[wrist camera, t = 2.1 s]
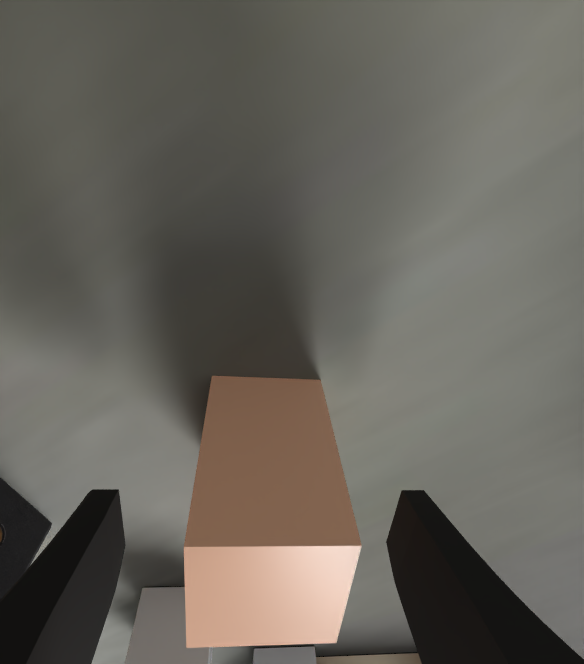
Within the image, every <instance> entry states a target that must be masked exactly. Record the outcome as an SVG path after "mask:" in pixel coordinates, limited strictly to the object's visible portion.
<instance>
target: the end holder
mask: <svg viewBox="0 0 584 664" xmlns="http://www.w3.org/2000/svg"><path fill="white" fill-rule="evenodd" d="M316 663H317V664H422V663H421V660H420V657H419V654H418V653H409V654H384V655H359V656H333V657H316Z"/></svg>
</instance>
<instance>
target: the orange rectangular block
mask: <svg viewBox="0 0 584 664" xmlns="http://www.w3.org/2000/svg"><path fill="white" fill-rule="evenodd" d="M361 546H362V545H361V541H360V537H359V533H358V529H357V525H356V521H355V517H354V513H353V509H352V505H351V501H350V497H349V493H348V489H347V485H346V481H345V477H344V473H343V469H342V465H341V461H340V457H339V453H338V449H337V445H336V440H335V436H334V432H333V428H332V424H331V420H330V416H329V412H328V408H327V404H326V400H325V396H324V392H323V388H322V384H321V380H311V379H285V378H259V377H233V376H212V378H211V384H210V390H209V397H208V403H207V409H206V415H205V421H204V427H203V433H202V439H201V445H200V451H199V458H198V464H197V470H196V476H195V482H194V488H193V494H192V500H191V506H190V512H189V518H188V525H187V531H186V537H185V543H184V574H185V613H186V648H200V647H231V646H261V645H292V644H322V643H336V642H337V639H338V635H339V631H340V627H341V623H342V619H343V615H344V612H345V608H346V604H347V600H348V596H349V592H350V589H351V585H352V581H353V577H354V573H355V569H356V566H357V562H358V558H359V554H360V550H361Z"/></svg>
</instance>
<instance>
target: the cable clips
mask: <svg viewBox="0 0 584 664" xmlns="http://www.w3.org/2000/svg"><path fill="white" fill-rule="evenodd" d="M211 660H212V647H200V648H186V613H185V587H156V588H142V592H141V597H140V601H139V605H138V609H137V614H136V618H135V622H134V626H133V631H132V635H131V639H130V644H129V648H128V652H127V656H126V661H125V664H211ZM253 664H317V663H316V654H315V646H313V647H286V648H258V649H254V655H253Z"/></svg>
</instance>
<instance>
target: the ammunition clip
mask: <svg viewBox="0 0 584 664" xmlns="http://www.w3.org/2000/svg"><path fill="white" fill-rule="evenodd" d="M51 525H52V523H51V522H50V521H49V520H48V519H47V518H45V517H44V516H43V515H42V514H41V513H40V512H39V511H37V510H36V509H35V508H34V507H33V506H32V505H31V504H30V503H28V502H27V501H26V500H25V499H24V498H23V497H22V496H21V495H19V494H18V493H17V492H16V491H15V490H14V489H13V488H11V487H10V486H9V485H8V484H7V483H6V482H5V481H4V480H2V479H1V478H0V600H1V598H2V597H3V596H4V595H5V594H6V593H7V592H8V591H9V590H10V589H11V587H12V586H13V585H14V584H15V583H16V582H17V581H18V580H19V579H20V577H21V576H22V575H23V574H24V573H25V572H26V570H27V569H28V568H29V566H30V564H31V563H32V561H33V559H34V557H35V555H36V553H37V552H38V550H39V548H40V546H41V544H42V543H43V541H44V539H45V537H46V535H47V533H48V532H49V530H50V528H51Z"/></svg>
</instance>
